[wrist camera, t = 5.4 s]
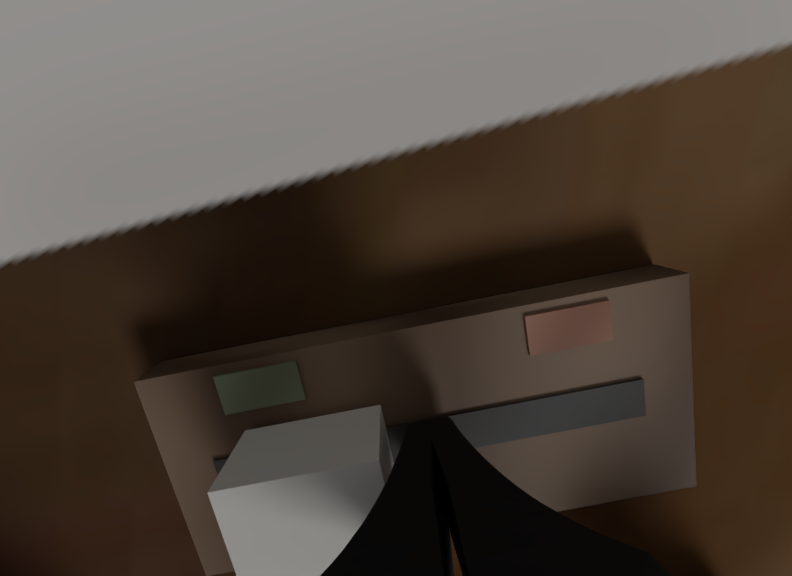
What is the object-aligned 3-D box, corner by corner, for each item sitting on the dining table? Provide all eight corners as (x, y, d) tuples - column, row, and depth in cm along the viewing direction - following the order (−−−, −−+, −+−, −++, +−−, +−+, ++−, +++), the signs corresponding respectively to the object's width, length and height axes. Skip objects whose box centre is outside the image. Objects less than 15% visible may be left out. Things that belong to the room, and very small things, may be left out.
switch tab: (272, 516, 12) (243, 596, 10) (244, 430, 12) (207, 493, 9) (400, 492, 12) (404, 566, 10) (380, 404, 12) (378, 460, 9)
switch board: (224, 537, 14) (205, 579, 13) (162, 361, 13) (131, 383, 11) (664, 456, 14) (698, 488, 13) (654, 264, 13) (692, 273, 11)
